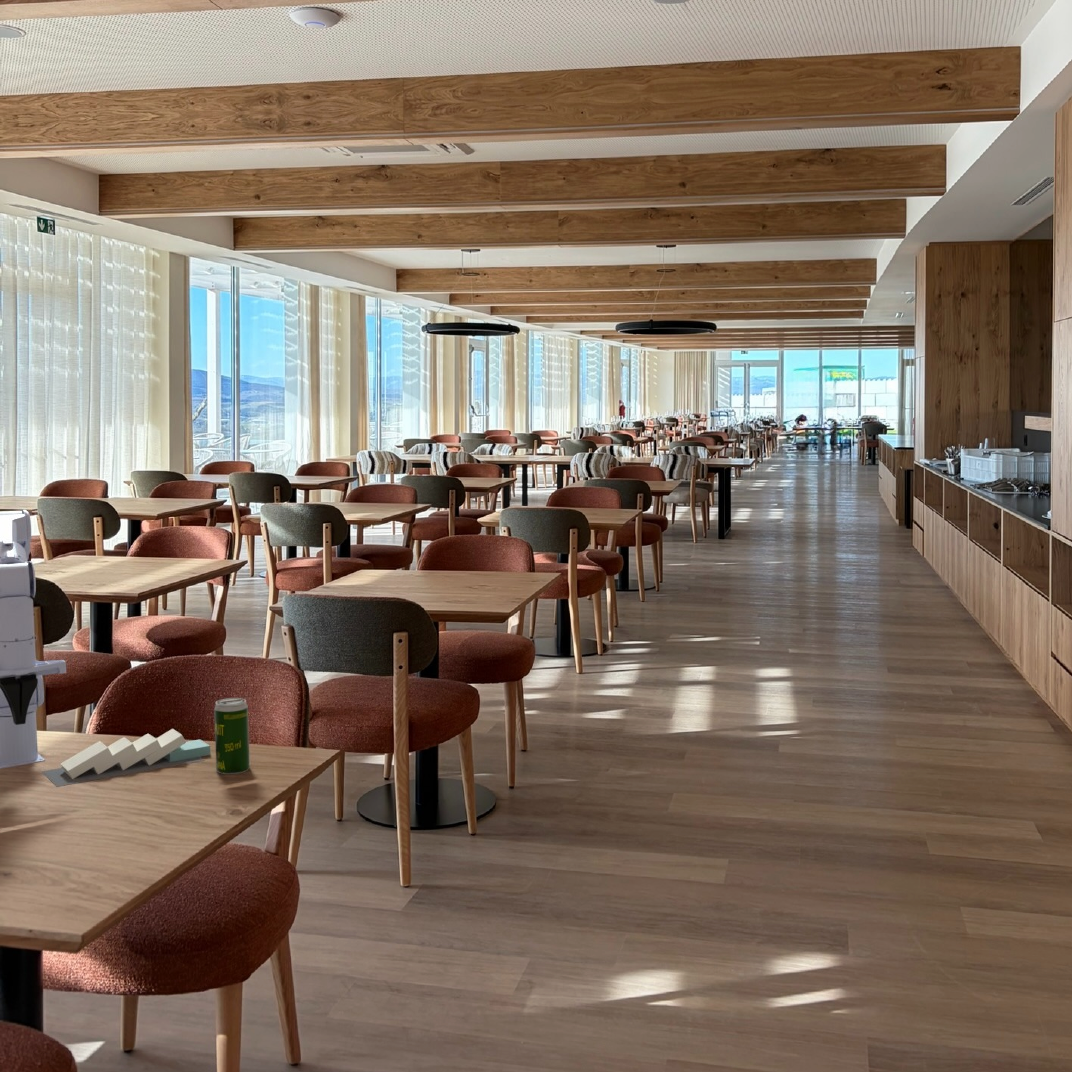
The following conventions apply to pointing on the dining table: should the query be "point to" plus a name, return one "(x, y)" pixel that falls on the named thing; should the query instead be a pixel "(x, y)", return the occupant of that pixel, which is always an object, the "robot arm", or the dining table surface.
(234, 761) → the green drink can
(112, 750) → the ivory domino
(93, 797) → the dining table surface
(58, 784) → the charcoal mat
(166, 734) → the ivory domino
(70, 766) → the ivory domino
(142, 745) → the ivory domino
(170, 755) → the teal domino
